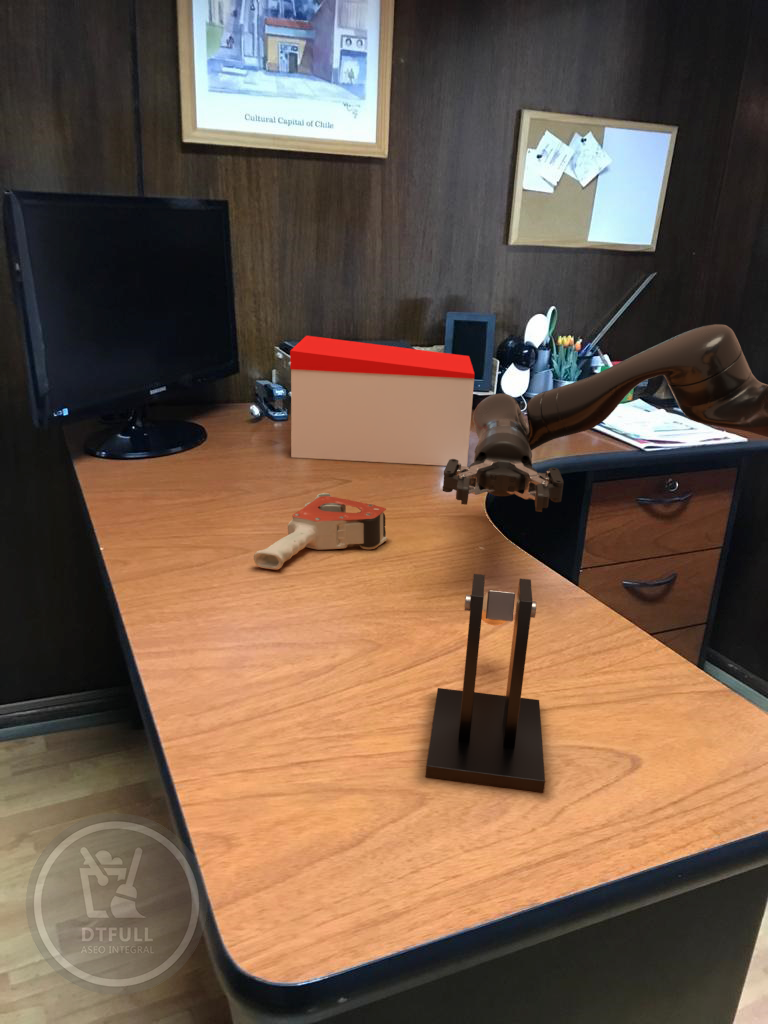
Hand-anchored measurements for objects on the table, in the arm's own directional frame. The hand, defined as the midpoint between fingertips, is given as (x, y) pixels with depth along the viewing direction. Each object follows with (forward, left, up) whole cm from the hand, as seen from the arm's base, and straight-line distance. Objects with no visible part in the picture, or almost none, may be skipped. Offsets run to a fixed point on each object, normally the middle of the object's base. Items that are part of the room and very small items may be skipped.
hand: (501, 500), depth 88 cm
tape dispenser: (+25, -17, -15) cm, 34 cm away
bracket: (0, +24, -15) cm, 28 cm away
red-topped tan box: (+24, -70, -15) cm, 76 cm away
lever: (0, +19, -6) cm, 19 cm away
